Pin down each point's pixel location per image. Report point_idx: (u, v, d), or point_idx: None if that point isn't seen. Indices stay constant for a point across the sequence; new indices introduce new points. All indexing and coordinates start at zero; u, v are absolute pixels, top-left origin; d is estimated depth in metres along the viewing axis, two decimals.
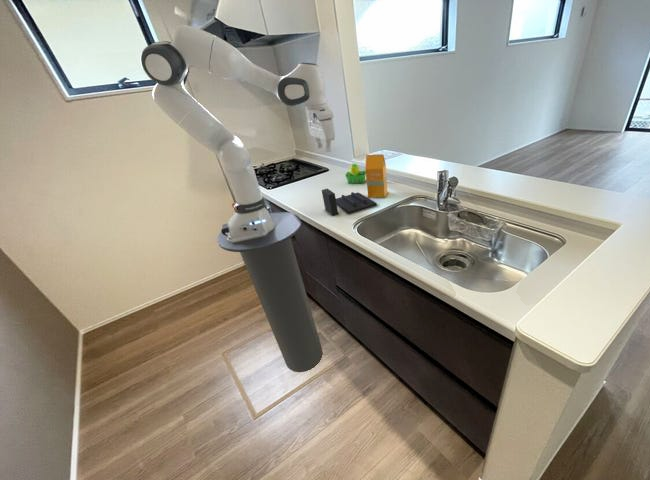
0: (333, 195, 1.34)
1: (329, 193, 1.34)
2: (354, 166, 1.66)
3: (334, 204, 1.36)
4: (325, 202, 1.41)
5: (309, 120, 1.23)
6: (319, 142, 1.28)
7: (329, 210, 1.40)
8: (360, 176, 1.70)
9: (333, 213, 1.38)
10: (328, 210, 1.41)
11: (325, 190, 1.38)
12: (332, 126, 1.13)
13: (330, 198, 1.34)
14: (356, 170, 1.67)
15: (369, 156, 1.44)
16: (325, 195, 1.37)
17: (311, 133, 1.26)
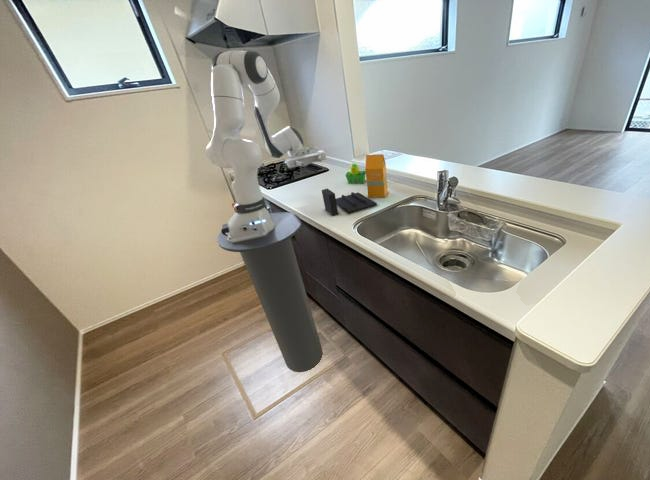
0: (333, 195, 1.34)
1: (329, 193, 1.34)
2: (354, 166, 1.66)
3: (334, 204, 1.36)
4: (325, 202, 1.41)
5: (290, 157, 1.48)
6: None
7: (329, 210, 1.40)
8: (360, 176, 1.70)
9: (333, 213, 1.38)
10: (328, 210, 1.41)
11: (325, 190, 1.38)
12: None
13: (330, 198, 1.34)
14: (356, 170, 1.67)
15: (369, 156, 1.44)
16: (325, 195, 1.37)
17: (292, 159, 1.44)
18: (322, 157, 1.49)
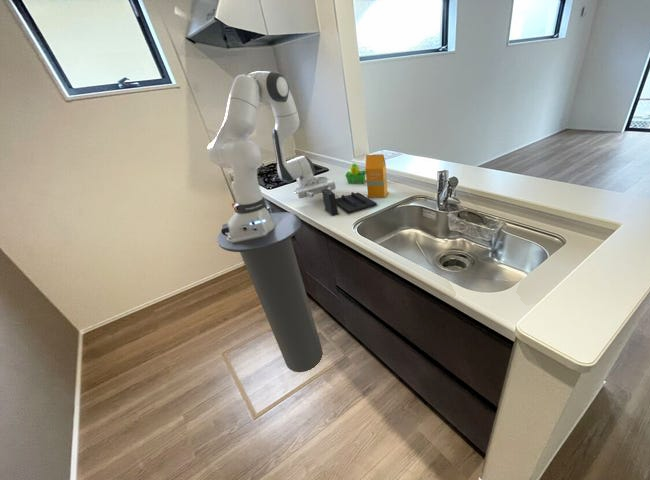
0: (333, 195, 1.34)
1: (329, 193, 1.34)
2: (354, 166, 1.66)
3: (334, 204, 1.36)
4: (325, 202, 1.41)
5: (300, 187, 1.51)
6: None
7: (329, 210, 1.40)
8: (360, 176, 1.70)
9: (333, 213, 1.38)
10: (328, 210, 1.41)
11: (325, 190, 1.38)
12: None
13: (330, 198, 1.34)
14: (356, 170, 1.67)
15: (369, 156, 1.44)
16: (325, 195, 1.37)
17: (302, 190, 1.47)
18: (331, 187, 1.53)
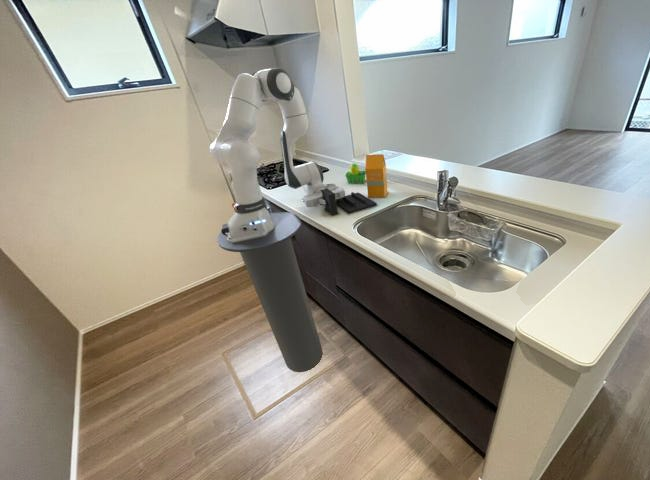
0: (333, 195, 1.34)
1: (329, 193, 1.34)
2: (354, 166, 1.66)
3: (334, 204, 1.36)
4: None
5: (308, 195, 1.43)
6: None
7: (329, 210, 1.40)
8: (360, 176, 1.70)
9: (333, 213, 1.38)
10: (328, 210, 1.41)
11: (325, 190, 1.38)
12: None
13: (330, 198, 1.34)
14: (356, 170, 1.67)
15: (369, 156, 1.44)
16: (325, 195, 1.37)
17: (310, 198, 1.39)
18: (341, 195, 1.45)
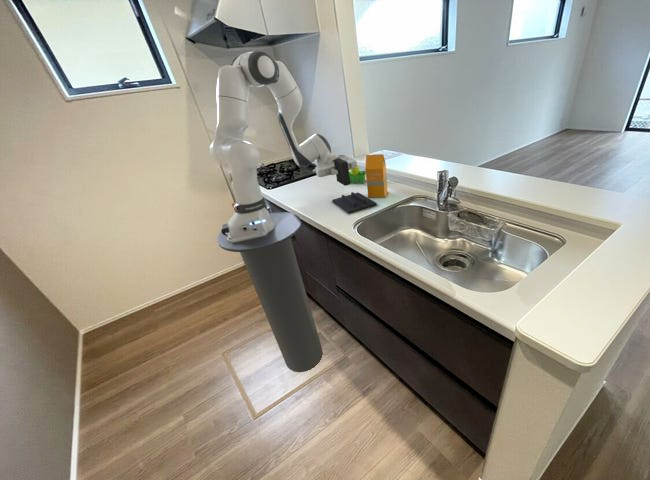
0: (346, 164, 1.31)
1: (342, 162, 1.31)
2: None
3: (347, 173, 1.33)
4: None
5: (320, 165, 1.40)
6: None
7: (341, 180, 1.37)
8: (360, 176, 1.70)
9: (345, 183, 1.35)
10: (340, 180, 1.38)
11: (337, 159, 1.35)
12: None
13: (343, 167, 1.31)
14: (356, 170, 1.67)
15: (369, 156, 1.44)
16: (337, 164, 1.34)
17: (322, 168, 1.37)
18: (353, 166, 1.42)
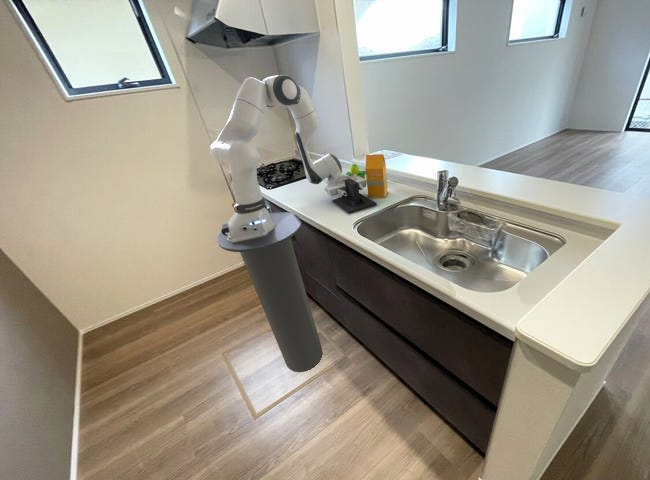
0: (356, 184, 1.39)
1: (352, 183, 1.39)
2: (354, 166, 1.66)
3: (357, 193, 1.41)
4: (348, 191, 1.46)
5: (331, 184, 1.48)
6: None
7: (352, 199, 1.45)
8: (360, 176, 1.70)
9: (356, 202, 1.43)
10: None
11: (348, 180, 1.43)
12: None
13: (354, 187, 1.39)
14: (356, 170, 1.67)
15: (369, 156, 1.44)
16: (348, 184, 1.42)
17: (334, 187, 1.44)
18: (362, 185, 1.50)
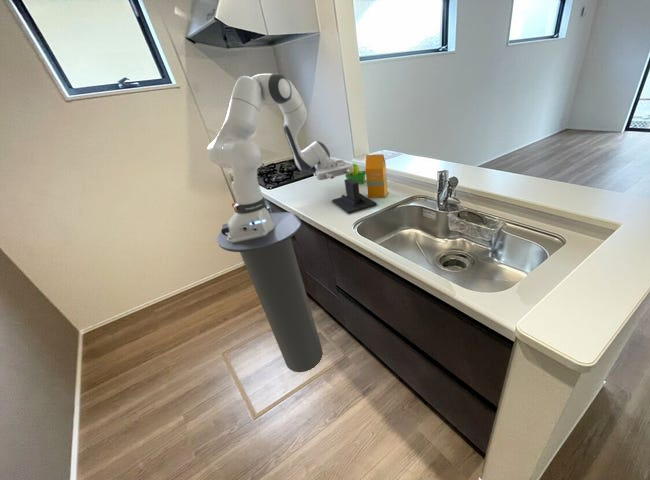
0: (356, 184, 1.39)
1: (352, 183, 1.39)
2: (354, 166, 1.66)
3: (357, 193, 1.41)
4: (348, 191, 1.46)
5: (320, 169, 1.55)
6: None
7: (352, 199, 1.45)
8: (360, 176, 1.70)
9: (356, 202, 1.43)
10: None
11: (348, 180, 1.43)
12: None
13: (354, 187, 1.39)
14: (356, 170, 1.67)
15: (369, 156, 1.44)
16: (348, 184, 1.42)
17: (322, 172, 1.51)
18: (350, 170, 1.56)
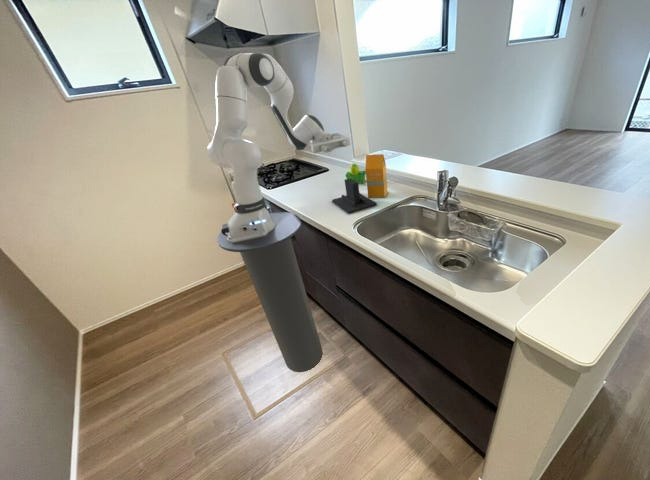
0: (356, 184, 1.39)
1: (352, 183, 1.39)
2: (354, 166, 1.66)
3: (357, 193, 1.41)
4: (348, 191, 1.46)
5: (315, 142, 1.47)
6: None
7: (352, 199, 1.45)
8: (360, 176, 1.70)
9: (356, 202, 1.43)
10: None
11: (348, 180, 1.43)
12: None
13: (354, 187, 1.39)
14: (356, 170, 1.67)
15: (369, 156, 1.44)
16: (348, 184, 1.42)
17: (317, 144, 1.43)
18: (346, 143, 1.49)
